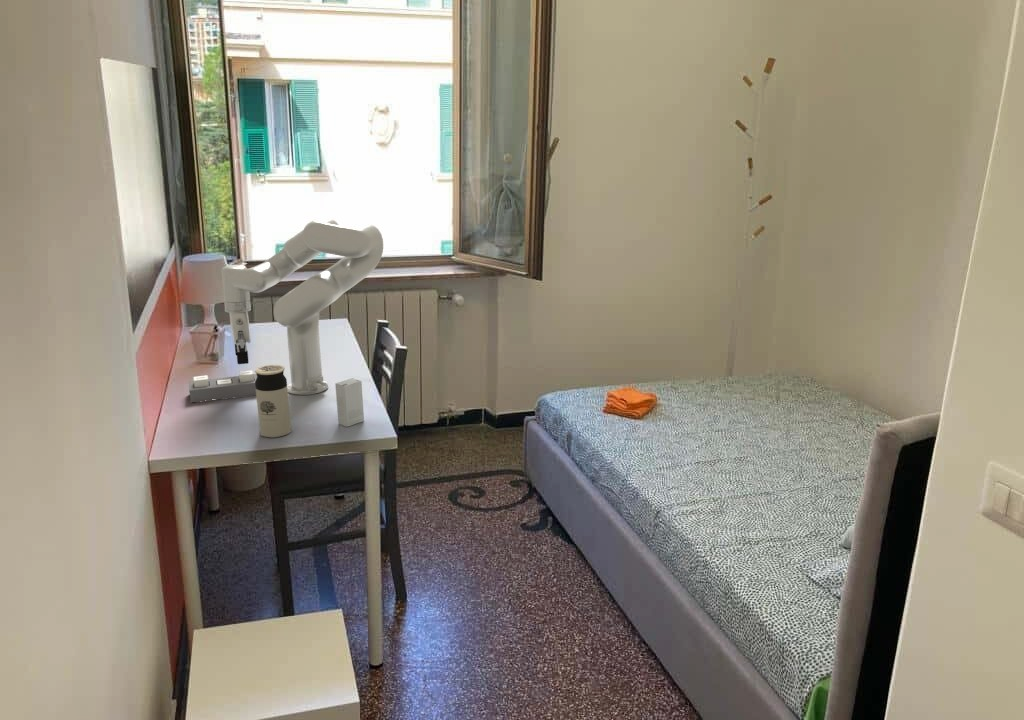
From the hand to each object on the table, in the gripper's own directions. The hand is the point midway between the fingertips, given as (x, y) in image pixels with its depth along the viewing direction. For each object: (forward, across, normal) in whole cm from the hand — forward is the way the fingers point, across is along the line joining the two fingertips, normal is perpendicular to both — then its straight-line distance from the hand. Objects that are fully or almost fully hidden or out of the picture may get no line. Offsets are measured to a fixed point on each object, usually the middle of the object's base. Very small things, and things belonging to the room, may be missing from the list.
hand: (242, 359), depth 243 cm
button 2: (+5, -5, -1) cm, 8 cm away
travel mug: (+9, -43, -5) cm, 44 cm away
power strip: (+9, -5, +6) cm, 12 cm away
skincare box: (+8, -44, -25) cm, 51 cm away
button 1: (+6, -5, +12) cm, 15 cm away
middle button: (+8, -5, +6) cm, 11 cm away
